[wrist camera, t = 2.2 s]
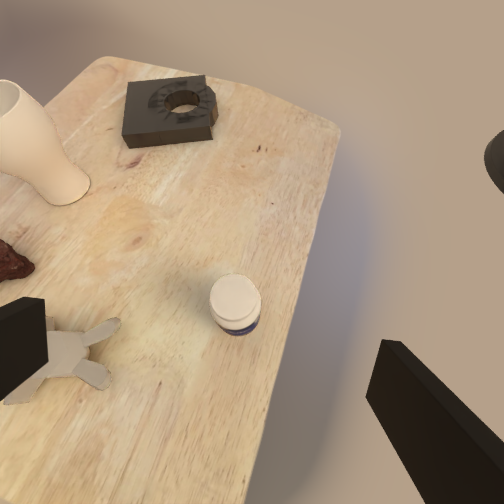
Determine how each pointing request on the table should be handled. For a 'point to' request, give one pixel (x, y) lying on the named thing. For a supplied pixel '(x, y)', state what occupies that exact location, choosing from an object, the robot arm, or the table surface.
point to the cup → (36, 148)
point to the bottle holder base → (168, 112)
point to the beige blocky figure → (69, 359)
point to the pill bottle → (235, 304)
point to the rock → (13, 263)
